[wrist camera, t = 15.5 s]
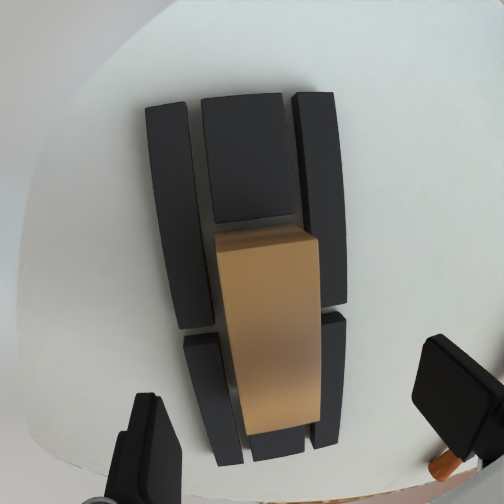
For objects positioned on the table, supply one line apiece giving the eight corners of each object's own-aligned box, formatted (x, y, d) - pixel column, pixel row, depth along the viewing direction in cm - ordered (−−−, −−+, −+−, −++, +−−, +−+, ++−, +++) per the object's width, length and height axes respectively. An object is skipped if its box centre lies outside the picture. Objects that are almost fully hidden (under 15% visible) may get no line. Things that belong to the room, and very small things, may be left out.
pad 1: (149, 112, 14) (144, 107, 12) (325, 97, 15) (333, 92, 13) (180, 320, 16) (178, 330, 15) (339, 295, 17) (347, 303, 16)
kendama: (430, 488, 21) (560, 337, 16) (415, 452, 26) (527, 315, 22) (456, 490, 21) (573, 356, 17) (441, 459, 27) (544, 334, 22)
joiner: (214, 232, 16) (216, 252, 12) (292, 222, 16) (318, 238, 12) (238, 390, 18) (246, 435, 14) (301, 379, 19) (319, 420, 15)
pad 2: (184, 335, 17) (182, 346, 16) (339, 310, 18) (347, 319, 16) (217, 455, 20) (218, 466, 18) (333, 433, 20) (338, 443, 19)
